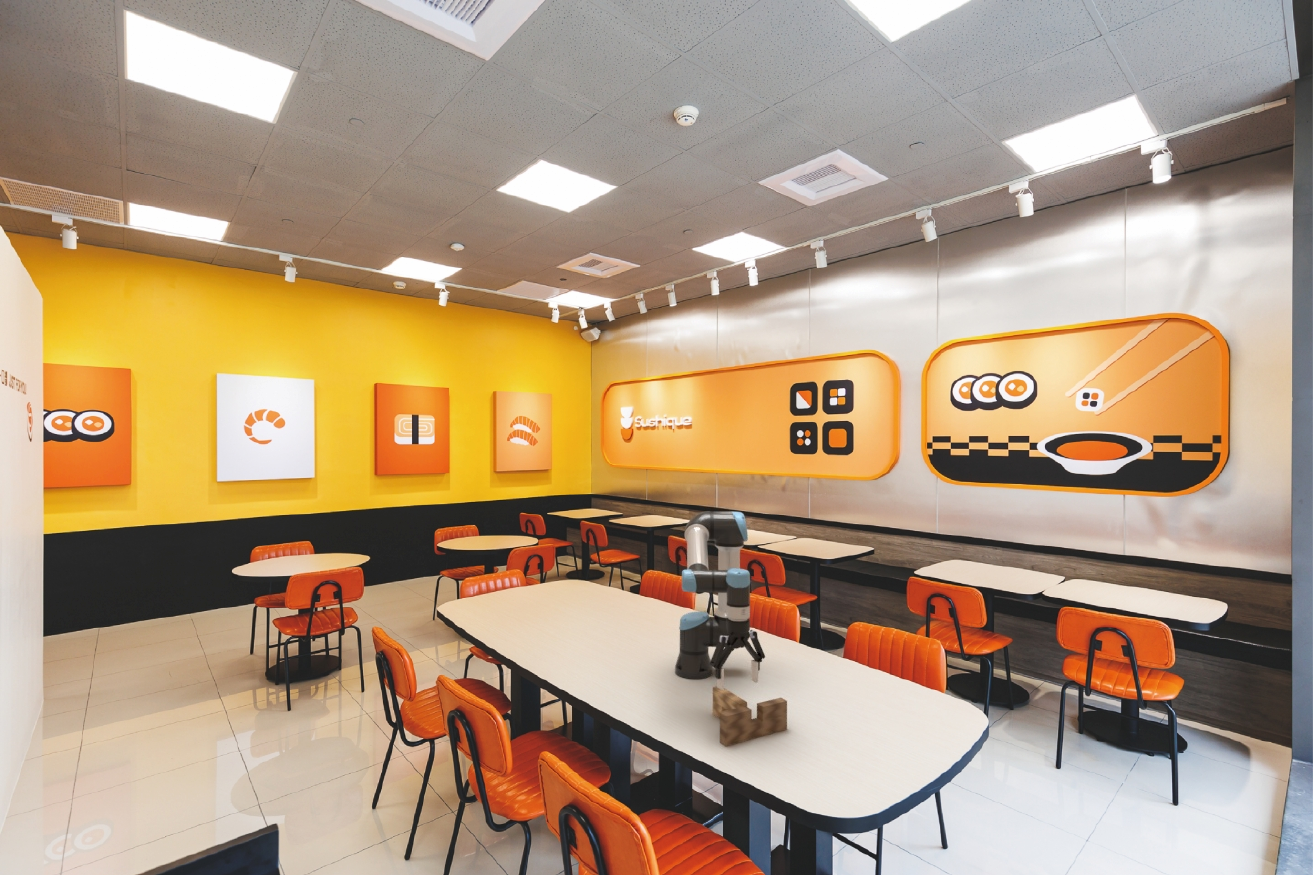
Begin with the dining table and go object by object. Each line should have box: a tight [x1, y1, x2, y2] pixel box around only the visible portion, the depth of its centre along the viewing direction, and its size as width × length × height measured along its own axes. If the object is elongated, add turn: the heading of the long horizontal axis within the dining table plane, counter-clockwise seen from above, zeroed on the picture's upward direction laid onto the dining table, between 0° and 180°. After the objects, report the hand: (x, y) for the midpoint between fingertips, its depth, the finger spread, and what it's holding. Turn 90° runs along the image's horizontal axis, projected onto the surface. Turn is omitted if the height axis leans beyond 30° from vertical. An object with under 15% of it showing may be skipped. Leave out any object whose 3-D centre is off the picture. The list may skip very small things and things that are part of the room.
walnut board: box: [719, 697, 788, 747], centre depth 189 cm, size 24×3×9 cm, turn 119°
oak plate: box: [712, 685, 748, 720], centre depth 198 cm, size 15×3×9 cm, turn 29°
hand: (737, 684), depth 194 cm, fingers open, 13 cm apart
